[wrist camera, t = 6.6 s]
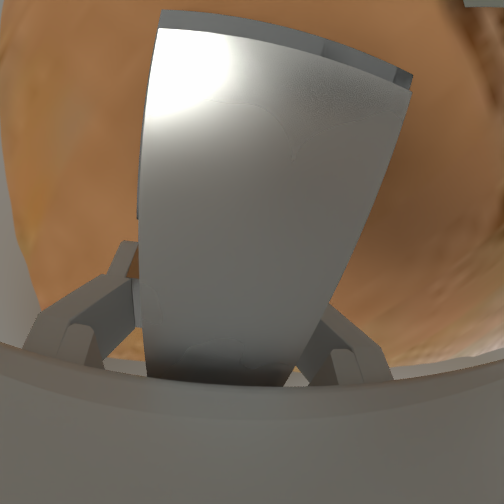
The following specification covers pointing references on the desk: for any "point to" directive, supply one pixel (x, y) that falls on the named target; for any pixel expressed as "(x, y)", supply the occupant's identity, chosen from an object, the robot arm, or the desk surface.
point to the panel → (251, 200)
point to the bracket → (484, 3)
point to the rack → (275, 36)
